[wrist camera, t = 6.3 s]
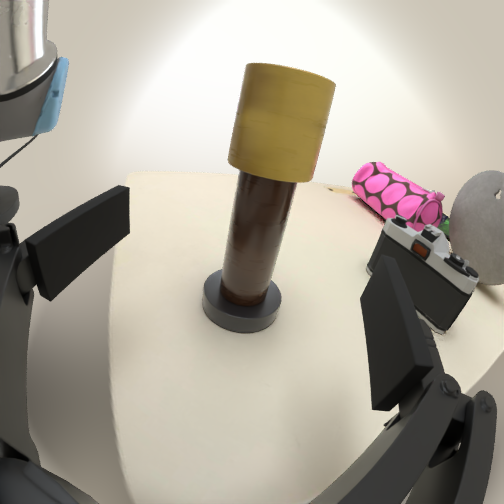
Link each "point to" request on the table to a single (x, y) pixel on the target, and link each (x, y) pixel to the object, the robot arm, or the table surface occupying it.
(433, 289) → the camera
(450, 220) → the planter
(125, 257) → the table surface
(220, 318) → the yellow-topped cylinder
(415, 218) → the pencil case
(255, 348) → the table surface
